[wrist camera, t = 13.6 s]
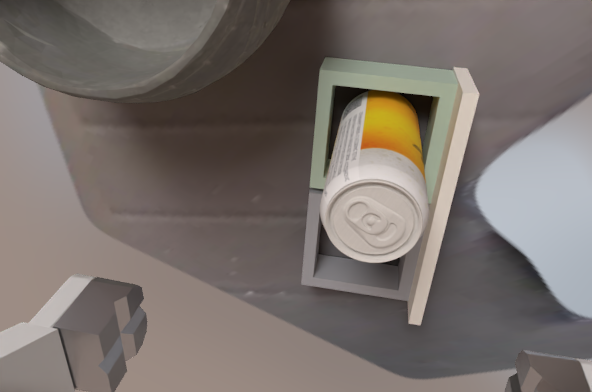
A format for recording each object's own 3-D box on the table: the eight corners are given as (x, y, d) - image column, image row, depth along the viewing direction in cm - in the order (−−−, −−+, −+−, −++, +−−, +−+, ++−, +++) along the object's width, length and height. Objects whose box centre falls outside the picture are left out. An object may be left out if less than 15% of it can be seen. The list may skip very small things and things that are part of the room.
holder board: (467, 68, 37) (479, 94, 32) (417, 279, 47) (420, 325, 42) (325, 53, 38) (315, 76, 33) (306, 263, 48) (296, 305, 43)
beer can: (382, 171, 42) (377, 286, 29) (325, 126, 41) (295, 226, 28) (434, 119, 39) (455, 221, 26) (375, 69, 38) (366, 151, 25)
